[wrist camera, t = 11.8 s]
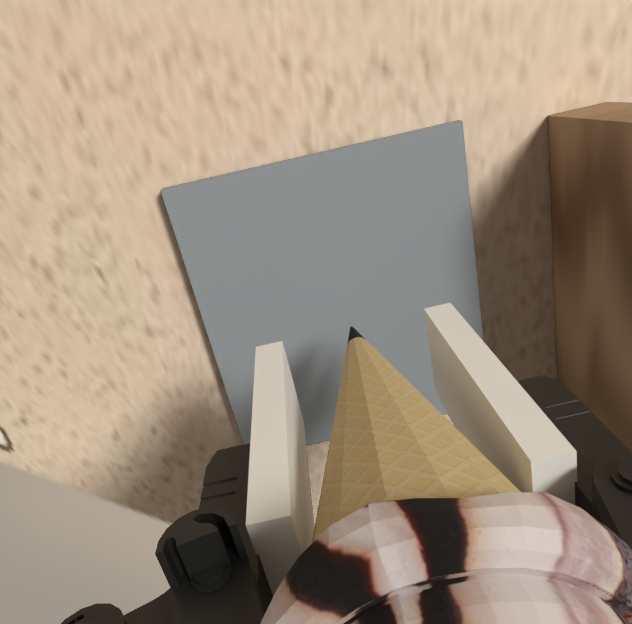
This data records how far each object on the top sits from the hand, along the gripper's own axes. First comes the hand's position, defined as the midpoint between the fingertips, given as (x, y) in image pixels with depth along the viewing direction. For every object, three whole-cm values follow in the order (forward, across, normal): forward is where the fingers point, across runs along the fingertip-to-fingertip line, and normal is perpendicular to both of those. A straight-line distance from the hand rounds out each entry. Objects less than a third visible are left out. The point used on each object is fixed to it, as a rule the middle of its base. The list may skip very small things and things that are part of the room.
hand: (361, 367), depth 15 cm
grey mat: (+5, 0, 0) cm, 5 cm away
